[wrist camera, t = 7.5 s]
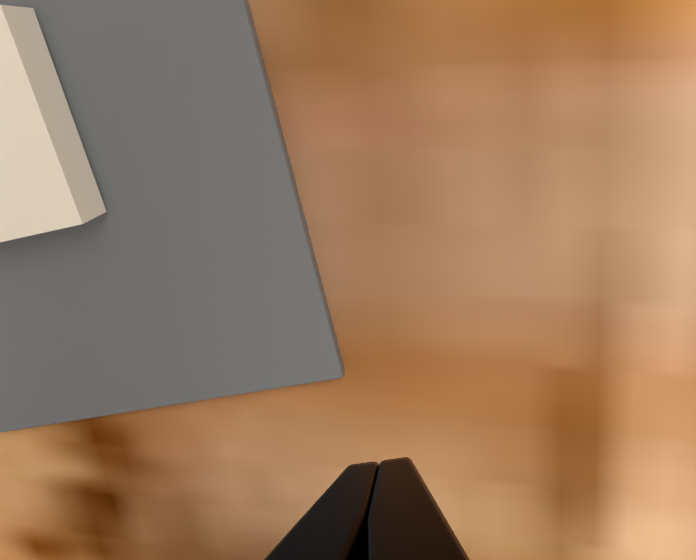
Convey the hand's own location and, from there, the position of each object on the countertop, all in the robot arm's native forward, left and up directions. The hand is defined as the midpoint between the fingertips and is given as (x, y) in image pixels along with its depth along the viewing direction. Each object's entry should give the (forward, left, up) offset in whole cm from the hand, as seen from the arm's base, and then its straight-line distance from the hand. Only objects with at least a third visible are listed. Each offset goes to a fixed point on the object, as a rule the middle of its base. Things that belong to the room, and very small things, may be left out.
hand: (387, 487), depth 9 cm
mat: (+5, +10, -12) cm, 16 cm away
